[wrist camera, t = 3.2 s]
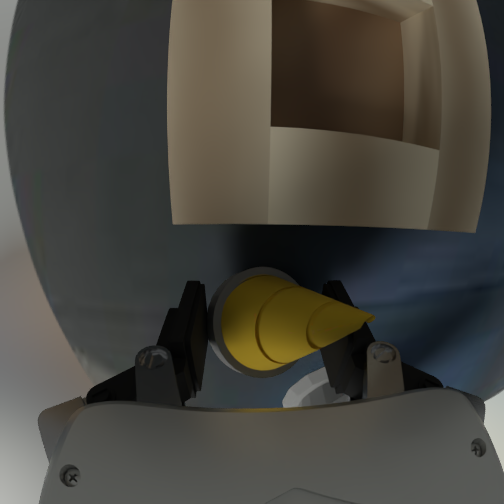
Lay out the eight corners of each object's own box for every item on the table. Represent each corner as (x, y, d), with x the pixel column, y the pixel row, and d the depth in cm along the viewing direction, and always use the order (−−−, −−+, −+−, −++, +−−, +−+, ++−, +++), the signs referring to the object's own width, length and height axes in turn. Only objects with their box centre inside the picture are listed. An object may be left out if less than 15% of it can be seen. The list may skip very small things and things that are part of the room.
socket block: (434, 2, 7) (471, -14, 4) (433, 207, 13) (475, 232, 9) (199, -39, 7) (185, -78, 4) (193, 197, 13) (172, 224, 9)
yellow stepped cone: (186, 279, 15) (289, 223, 7) (268, 275, 18) (403, 233, 9) (196, 373, 14) (312, 435, 6) (277, 357, 17) (418, 373, 8)
